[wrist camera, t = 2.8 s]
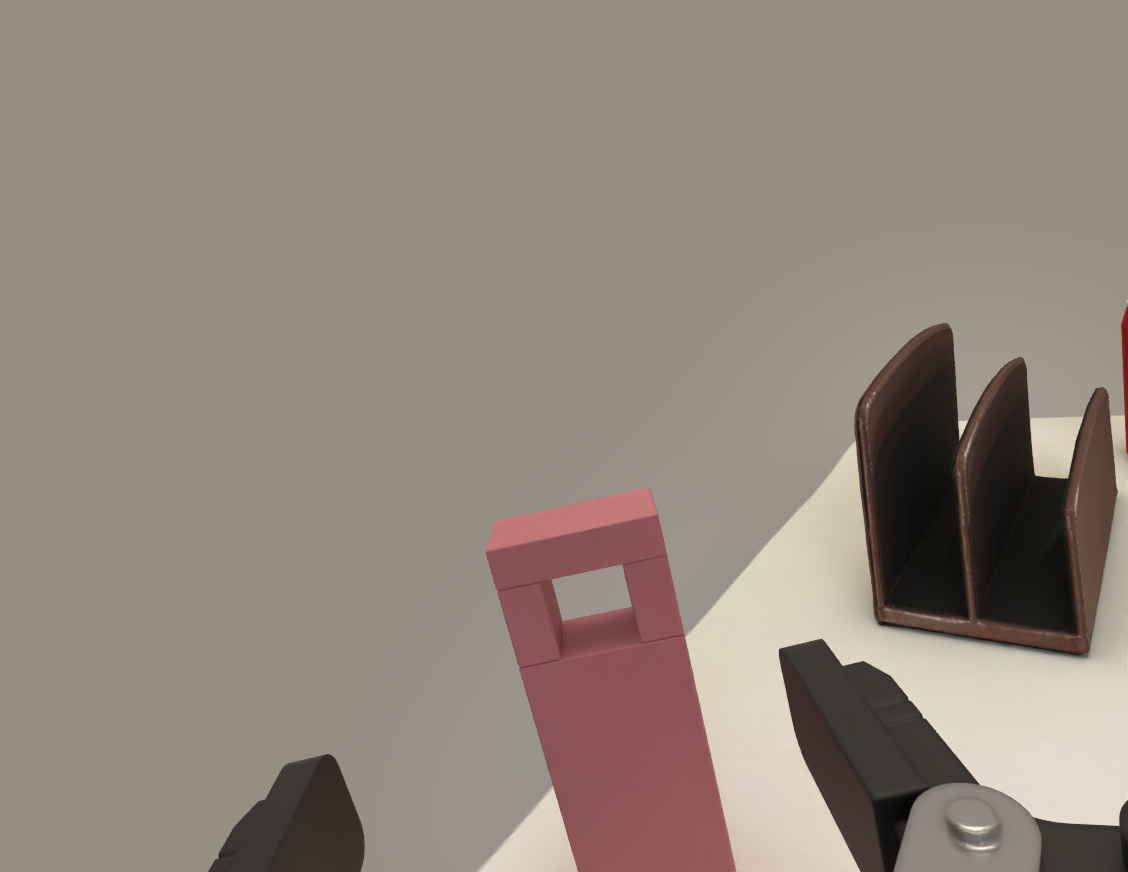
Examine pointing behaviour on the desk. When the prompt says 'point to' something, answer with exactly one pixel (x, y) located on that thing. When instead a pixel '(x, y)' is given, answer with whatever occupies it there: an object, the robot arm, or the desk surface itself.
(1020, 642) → the letter holder
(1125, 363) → the soda can
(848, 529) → the desk surface
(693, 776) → the pink block with hole
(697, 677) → the desk surface
